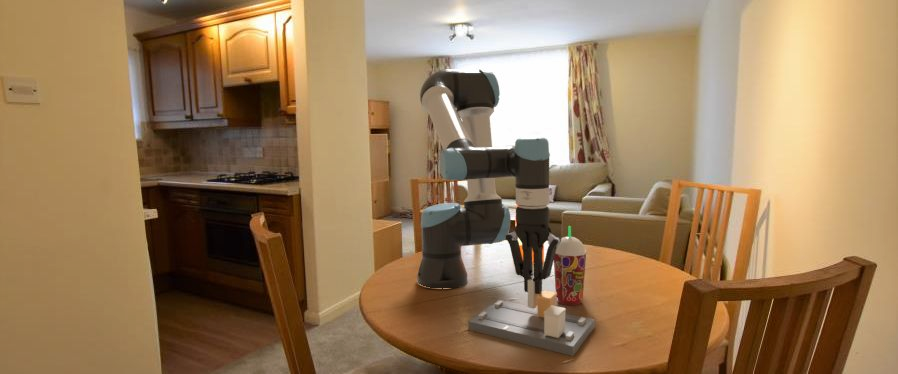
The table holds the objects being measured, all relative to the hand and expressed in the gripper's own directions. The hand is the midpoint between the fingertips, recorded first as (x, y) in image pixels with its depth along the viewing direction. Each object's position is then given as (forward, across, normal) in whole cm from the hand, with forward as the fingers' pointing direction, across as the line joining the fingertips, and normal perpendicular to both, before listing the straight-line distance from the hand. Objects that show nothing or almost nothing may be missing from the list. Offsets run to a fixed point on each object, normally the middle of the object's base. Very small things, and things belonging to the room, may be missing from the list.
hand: (533, 305), depth 104 cm
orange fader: (+2, +3, 0) cm, 4 cm away
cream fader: (+2, +8, -8) cm, 11 cm away
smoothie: (+4, +3, +16) cm, 17 cm away
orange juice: (+4, -22, +48) cm, 53 cm away
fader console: (+4, +1, -4) cm, 5 cm away
